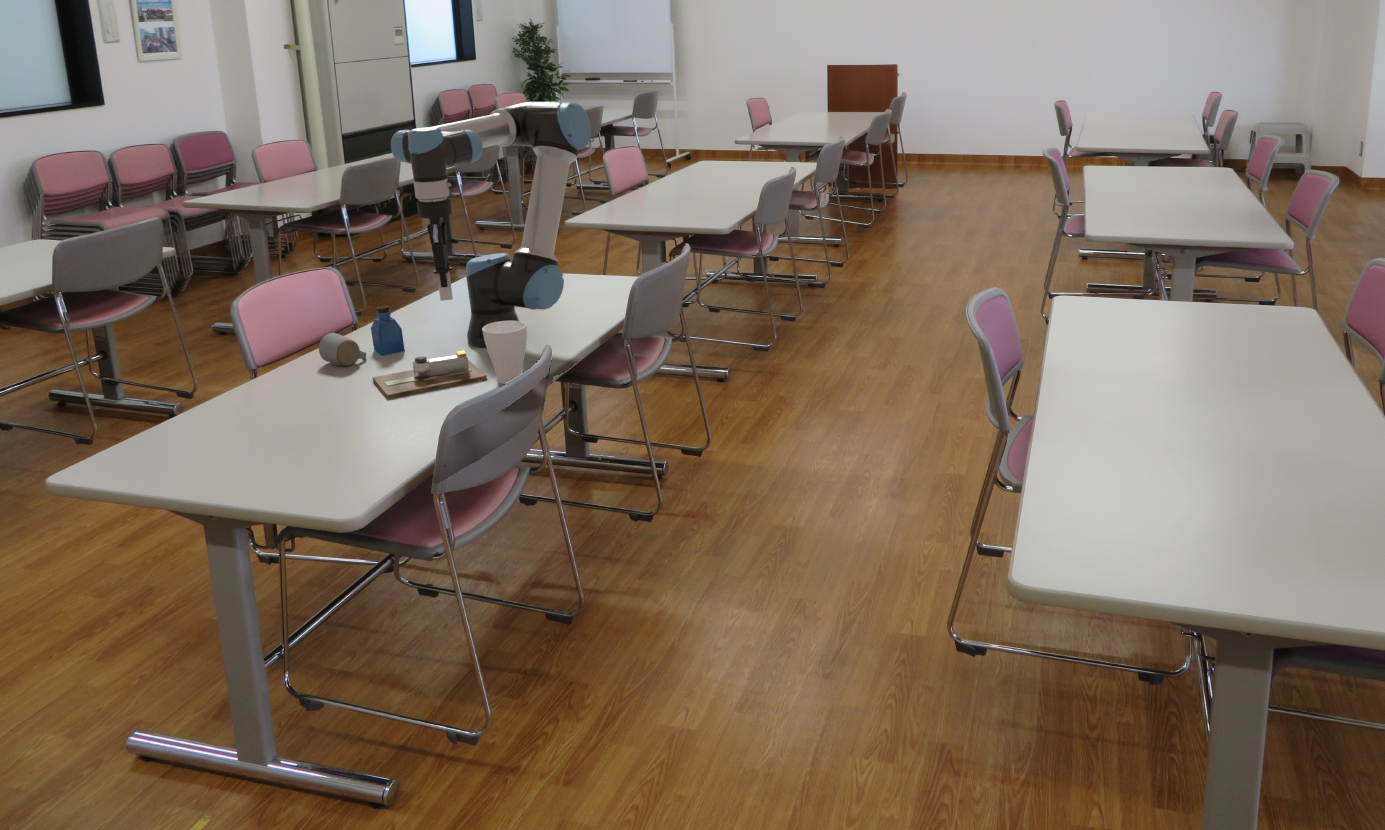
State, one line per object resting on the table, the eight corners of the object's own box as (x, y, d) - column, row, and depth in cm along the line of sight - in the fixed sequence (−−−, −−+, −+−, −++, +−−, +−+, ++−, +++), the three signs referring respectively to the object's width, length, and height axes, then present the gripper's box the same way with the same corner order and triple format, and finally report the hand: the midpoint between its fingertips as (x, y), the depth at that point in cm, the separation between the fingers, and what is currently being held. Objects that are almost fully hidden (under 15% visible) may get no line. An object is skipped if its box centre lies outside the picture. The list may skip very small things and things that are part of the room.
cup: (504, 371, 263) (499, 318, 258) (540, 376, 258) (535, 322, 253) (479, 384, 254) (472, 330, 249) (515, 390, 250) (509, 335, 245)
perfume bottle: (404, 351, 282) (398, 307, 277) (382, 355, 279) (375, 311, 274) (396, 345, 287) (390, 302, 282) (374, 350, 283) (367, 306, 279)
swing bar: (415, 379, 255) (413, 362, 253) (413, 374, 258) (410, 357, 257) (469, 370, 259) (467, 354, 258) (466, 366, 263) (464, 349, 261)
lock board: (468, 363, 270) (465, 341, 268) (486, 379, 257) (484, 356, 255) (373, 381, 259) (369, 358, 257) (387, 398, 247) (384, 375, 245)
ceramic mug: (339, 370, 268) (335, 341, 265) (320, 365, 273) (316, 336, 270) (374, 360, 276) (370, 331, 273) (355, 355, 281) (351, 327, 278)
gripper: (447, 202, 235) (461, 305, 243) (452, 192, 247) (464, 291, 256) (413, 205, 234) (427, 308, 243) (419, 194, 246) (432, 293, 255)
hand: (446, 299), depth 249 cm, fingers closed
